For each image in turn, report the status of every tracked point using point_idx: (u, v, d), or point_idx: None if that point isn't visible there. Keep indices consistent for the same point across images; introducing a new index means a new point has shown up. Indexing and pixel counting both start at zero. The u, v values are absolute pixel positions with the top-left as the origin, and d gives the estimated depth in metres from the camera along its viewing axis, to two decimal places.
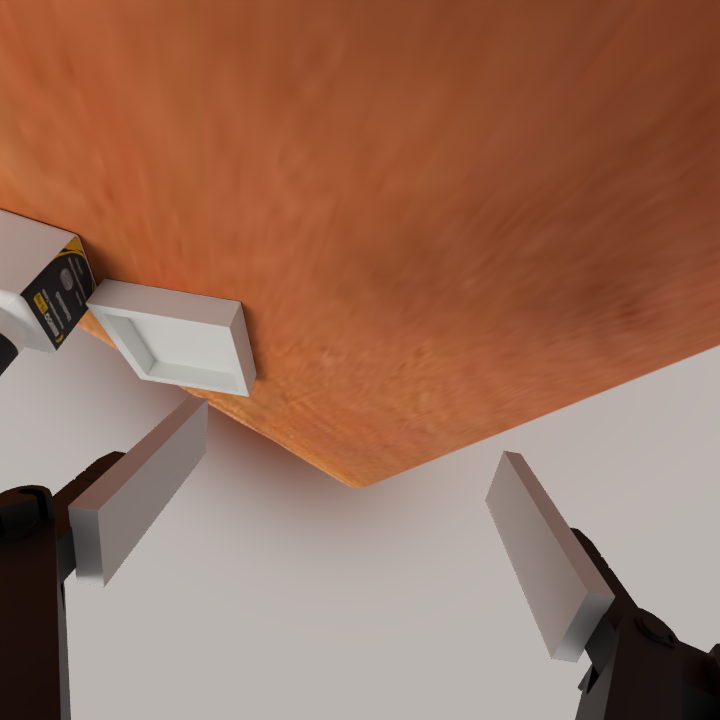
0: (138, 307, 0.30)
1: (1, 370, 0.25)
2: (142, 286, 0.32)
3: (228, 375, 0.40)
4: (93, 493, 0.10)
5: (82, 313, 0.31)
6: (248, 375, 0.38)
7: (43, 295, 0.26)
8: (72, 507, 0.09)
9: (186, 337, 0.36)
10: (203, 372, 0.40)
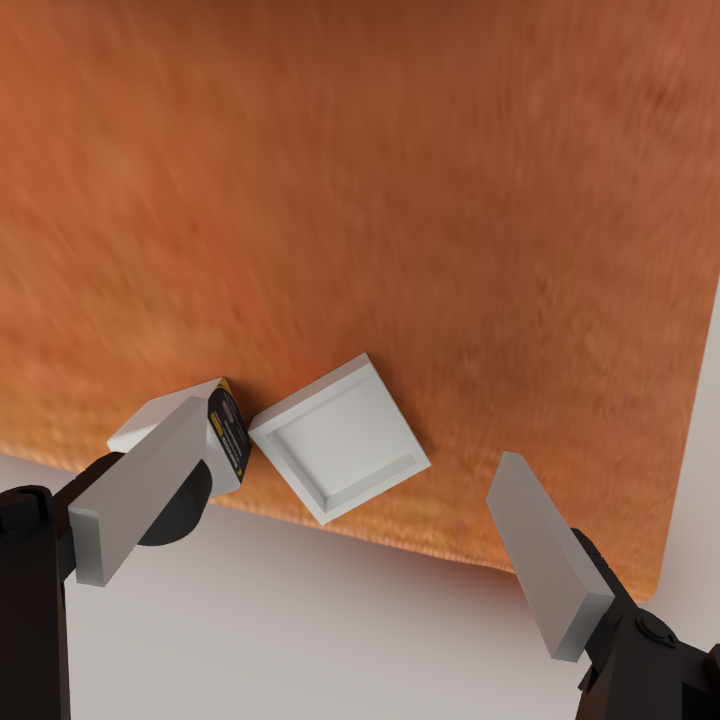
0: (289, 406, 0.31)
1: (204, 493, 0.24)
2: (284, 399, 0.33)
3: (398, 461, 0.35)
4: (93, 493, 0.10)
5: (248, 453, 0.31)
6: (415, 437, 0.34)
7: (216, 417, 0.27)
8: (72, 507, 0.09)
9: (340, 433, 0.34)
10: (374, 475, 0.35)
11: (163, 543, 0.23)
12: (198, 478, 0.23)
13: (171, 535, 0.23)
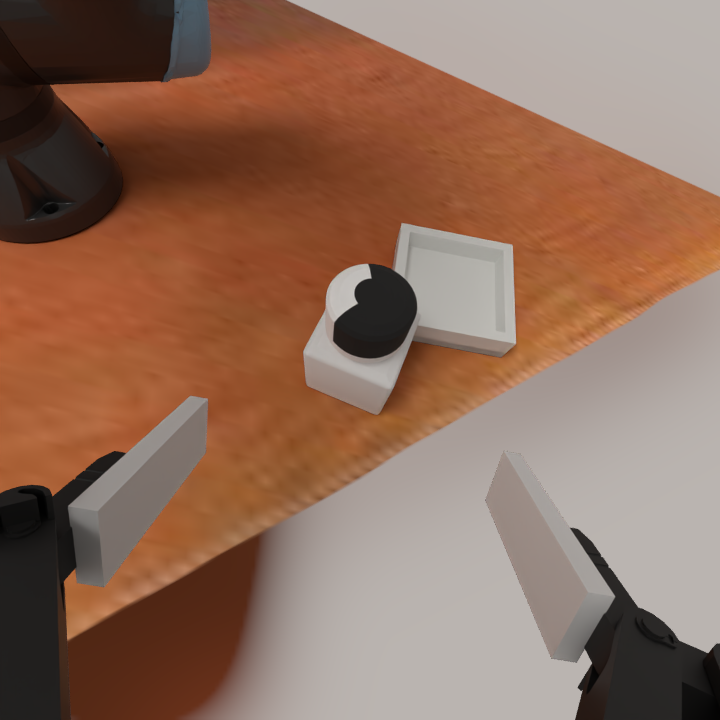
0: None
1: None
2: None
3: (496, 272, 0.39)
4: (93, 493, 0.10)
5: None
6: None
7: None
8: (72, 507, 0.09)
9: (443, 289, 0.37)
10: (497, 292, 0.37)
11: (408, 315, 0.23)
12: None
13: (405, 300, 0.23)
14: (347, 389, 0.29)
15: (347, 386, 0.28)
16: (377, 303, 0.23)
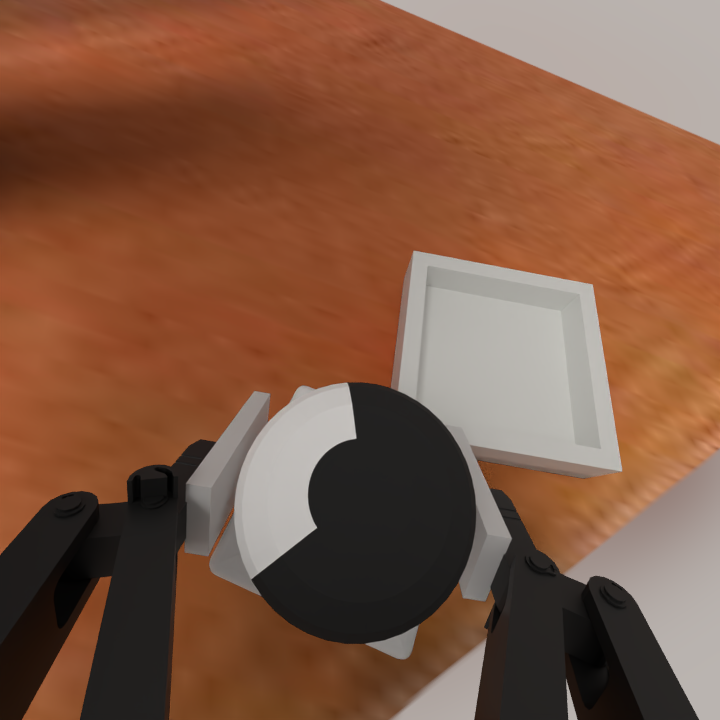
0: (400, 361, 0.20)
1: None
2: None
3: (566, 328, 0.24)
4: (202, 473, 0.11)
5: None
6: None
7: None
8: (189, 484, 0.11)
9: (483, 360, 0.23)
10: (571, 364, 0.23)
11: (458, 549, 0.08)
12: None
13: (449, 502, 0.09)
14: None
15: None
16: (371, 523, 0.08)
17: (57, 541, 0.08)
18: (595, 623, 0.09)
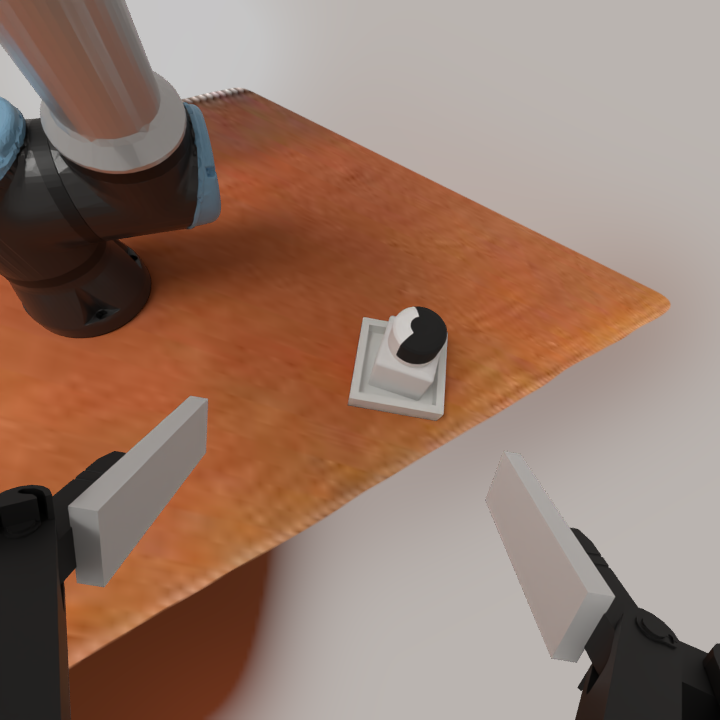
0: (354, 369, 0.47)
1: None
2: None
3: None
4: (93, 493, 0.10)
5: None
6: None
7: None
8: (72, 507, 0.09)
9: None
10: None
11: (443, 337, 0.39)
12: None
13: (440, 328, 0.39)
14: (400, 384, 0.45)
15: (401, 382, 0.44)
16: (424, 331, 0.38)
17: None
18: None
